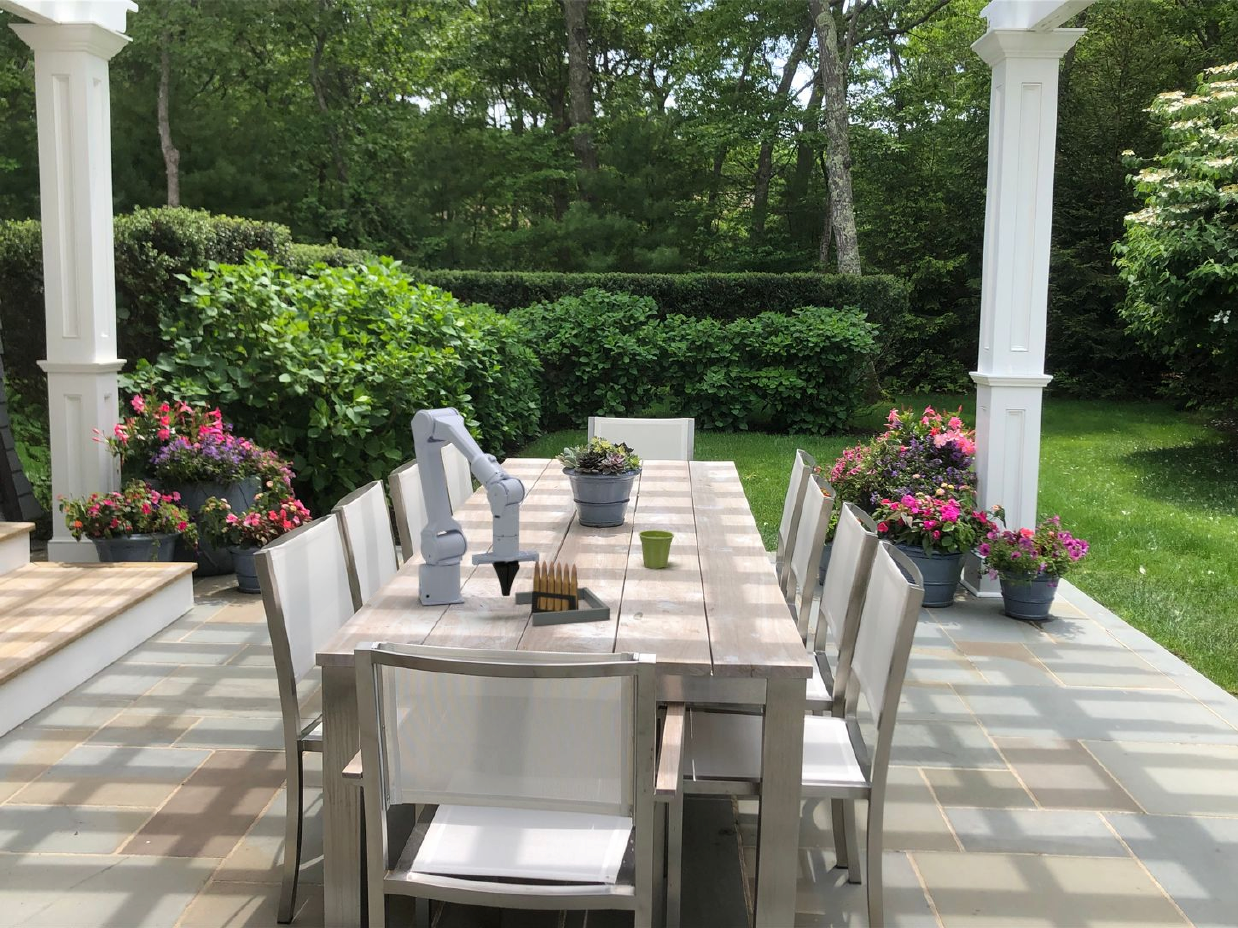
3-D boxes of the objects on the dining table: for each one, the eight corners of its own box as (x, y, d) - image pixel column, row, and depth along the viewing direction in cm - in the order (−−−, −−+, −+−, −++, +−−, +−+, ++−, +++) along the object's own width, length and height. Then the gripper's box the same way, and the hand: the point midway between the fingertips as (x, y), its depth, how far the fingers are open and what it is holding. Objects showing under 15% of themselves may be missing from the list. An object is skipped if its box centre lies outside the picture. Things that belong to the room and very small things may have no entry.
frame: (533, 626, 220) (533, 614, 219) (515, 603, 237) (515, 592, 236) (609, 619, 225) (610, 608, 225) (586, 597, 242) (586, 587, 242)
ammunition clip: (530, 613, 229) (531, 560, 228) (534, 611, 231) (535, 558, 229) (575, 618, 226) (576, 564, 224) (578, 616, 227) (579, 563, 226)
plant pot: (674, 562, 277) (675, 530, 275) (672, 571, 267) (673, 538, 266) (639, 561, 278) (640, 529, 276) (636, 569, 268) (637, 537, 267)
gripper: (476, 539, 218) (476, 602, 220) (542, 536, 223) (542, 597, 225) (470, 532, 225) (470, 593, 227) (535, 529, 229) (534, 588, 232)
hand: (505, 594), depth 226 cm, fingers closed
